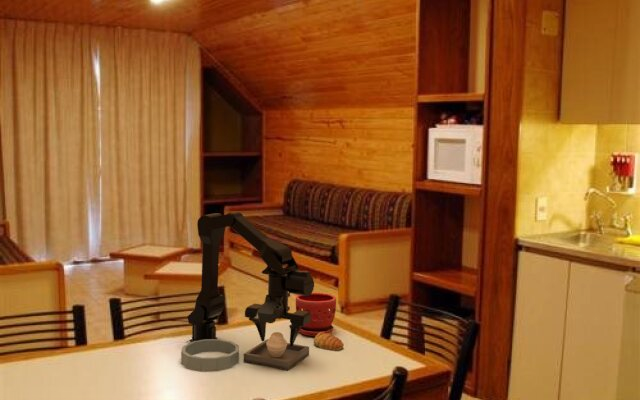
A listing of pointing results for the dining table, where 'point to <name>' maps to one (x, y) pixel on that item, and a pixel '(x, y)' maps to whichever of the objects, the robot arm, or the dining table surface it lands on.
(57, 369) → the dining table surface
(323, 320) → the plant pot
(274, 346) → the muffin
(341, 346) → the pastry
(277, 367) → the tray
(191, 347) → the grey polygonal ring
